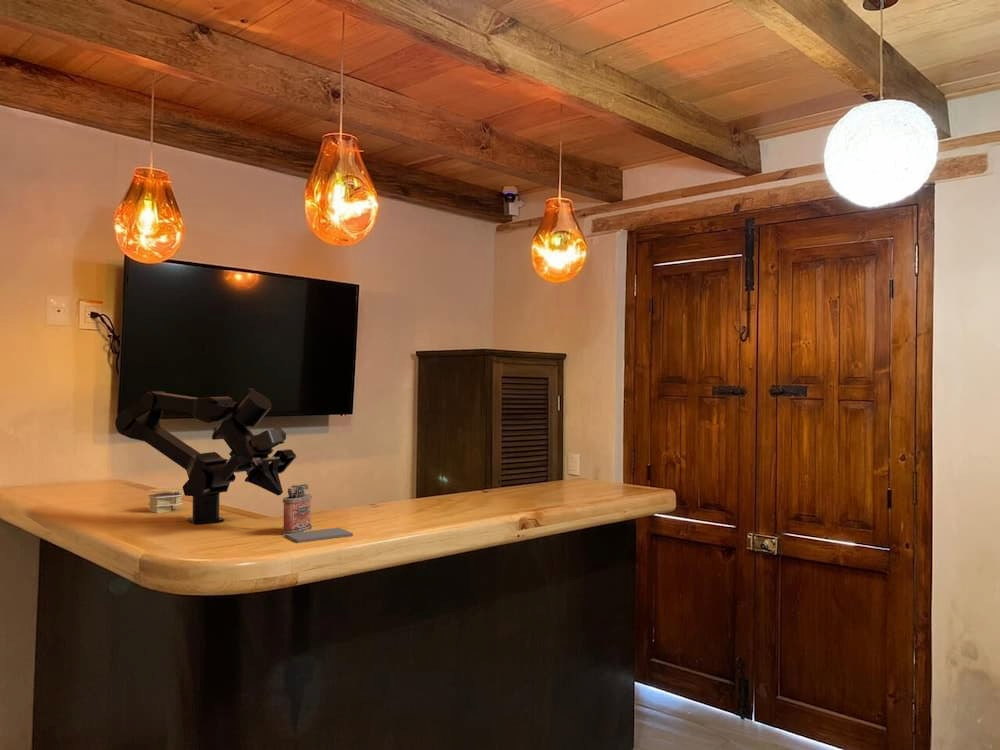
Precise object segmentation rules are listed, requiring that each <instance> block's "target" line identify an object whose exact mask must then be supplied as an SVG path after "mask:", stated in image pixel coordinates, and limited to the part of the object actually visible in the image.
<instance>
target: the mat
mask: <svg viewBox="0 0 1000 750" xmlns="http://www.w3.org/2000/svg"><path fill="white" fill-rule="evenodd" d="M285 536H286V537H285ZM351 536H352V537H353V536H354V533H353V532H351V531H349V530H346V529H344V528H341V527H332V528H325V529H317V530H316V529H315V530H308V531H306V532H298V533H290V534H285V535H284V537H285V538H287V537H288V538H287V539H289V538H290V539H289V540H291V539H292V540H291V541H293V542H295V543H306V542H314V541H321V540H328V539H337V538H339V539H340V538H346V537H351Z"/></svg>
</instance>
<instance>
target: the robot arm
mask: <svg viewBox="0 0 1000 750" xmlns="http://www.w3.org/2000/svg"><path fill="white" fill-rule="evenodd" d="M272 406H273V404H272V402H271V400H270V399H269V398H268V397H267V396H265V395H264V394H262V393H260V392H258V391H256V389H254V387H253V388H246V389H245V390H244V391H243V393H242V395H241V396H240V398H239V399H237V401H236V402H235V401H234V399H233V398H232V397H230V396H211V397H210V396H207V397H206V396H205V397H194V396H188V395H182V394H181V395H180V394H174V393H167V392H165V391H148V392H146V393H145V394H143V395H142V396H141V397H140V399H137V400H135V402H133V403H131V404H129V405H128V406H126V407H125V408H124V410H122V411H120V412H119V413H118V415H117V416H116V419H115V421H114V425H115V427H116V428H115V429H116V432H117V433H118V434H119V435H122V436H124V437H125V438H128V439H132V440H137V441H141V442H144V443H146V444H148V445H149V446H151V447H152V448H154V449H155V450H157V451H158V452H159V453H160V454H162V455H163V456H165V457H167V458H168V459H170V460H171V461H173V462H174V463H176V464H177V465H178V466H179V467H180V468H182V469H184V470H185V471H186V474H187V477H188V480H187V481H186V482H185V483H184V484H183V485H182V488H183V489H182V491H183V495H184V496H185V497H192V514H191V515H192V516H191V517H189V516H188V517H187V520H188V522H191V523H192V524H193V525H194V524H195V525H199V524H201V525H202V524H210V523H218V522H219V523H220V522H224V521H225V518H223V517H221V516H220V496H221V495H220V493H227V492H228V491H229V487H230V484H231V483H232V482H233V483H234V482H235V480H236V478H237V477H236V475H235V473H236V474H237V473H238V474H239V473H245V472H246V473H245V474H246V475H247V477H245V478H244V481H245V482H246V483H250V484H253V485H255V486H257V487H259V488H261V489H264V490H266V491H268V492H269V493H272V494H274V495H275V496H281V495H282V494H283V493H284V491H283V487H282V484H281V480H280V476H279V474H283V473H284V472H285V471H286V470H287V468H288V467H289V466H290V465H291V464H292V463H293V461H294V460H295V459H296V458H297V455H296V453H295V452H294V451H293V449H289V448H287V449H279V450H277V451H276V452H275V453H274V454H273V455H272V456H269V455H271V454H272V453H273V452H274V449H273V448H274V447H277V446H279V445H282V444H284V443H285V440H286V439H287V433H286V432H285V431H284V430H283V429H282V427H279V426H278V427H274V429H267V430H264V431H262V432H260V433H259V434H253V432H252V430H250V428H249V427H257V425H259V423H260V422H261V421H262V420H263V418H264V417H265V416H266V415H267V413H268V412H269V411H270V410H271V409H272ZM164 411H167V412H168V411H169V412H173V413H180V414H181V413H182V414H187V415H190V416H193V417H194V418H195V419H197V420H199V421H202V422H204V423H207V424H211V423H220V424H219V426H218V427H217V426H216V427H213V433H212V435H211V439H212V440H213V441H214V440H215V441H216V440H223V441H224V442H225V443H226V445H227V446H228V447H229V449H230V451H229V453H228V456H230V457H229V459H228V458H223V457H222V456H221V455H220V454H219V453H218V452H216V451H210V452H203V453H200V452H199V451H198V450H196V449H194V448H193V447H192V446H190V445H188V444H187V443H185V442H184V441H183V440H181V439H180V438H179V437H177V436H175V435H174V434H173V433H171V432H169V431H167V430H166V429H165V428H163V427H162V426H161V422H160V420H161V419H162V418H163V414H164Z"/></svg>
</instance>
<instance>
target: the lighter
mask: <svg viewBox="0 0 1000 750" xmlns="http://www.w3.org/2000/svg"><path fill="white" fill-rule="evenodd" d="M306 490H307V491H308V490H309V484H308V483H301V484H292V485H291V487H287V494H288V496H287V497H284V498H282V503H283V529H282V535H283V534H290V533H298V532H304V531H307V530H308V531H311V530H312V524H311V518H312V517H311V513H312V511H311V509H312V507H311V506H312V505H311V504H312V497H313V495H312V494H311V493H305V492H306ZM310 529H311V530H310Z"/></svg>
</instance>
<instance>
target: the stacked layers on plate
mask: <svg viewBox="0 0 1000 750" xmlns="http://www.w3.org/2000/svg"><path fill="white" fill-rule="evenodd" d="M179 490H182V491H183V487H182V488H181V487H171V486H170V487H160V488H153V489H149V490H148V491H149V492H156V494H150V495H147V497H148V498H149V503H147V506H149V512H150V513H155V514H160V513H166V512H171V511H172V510H174V506H179V505H183V503H184V501H182V497H183V495H184V492H183V493H182V492H181V493H180V491H179ZM170 491H171V492H170ZM172 491H174V492H172ZM157 492H158V493H157ZM159 492H161V493H159ZM162 492H163V493H162Z"/></svg>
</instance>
